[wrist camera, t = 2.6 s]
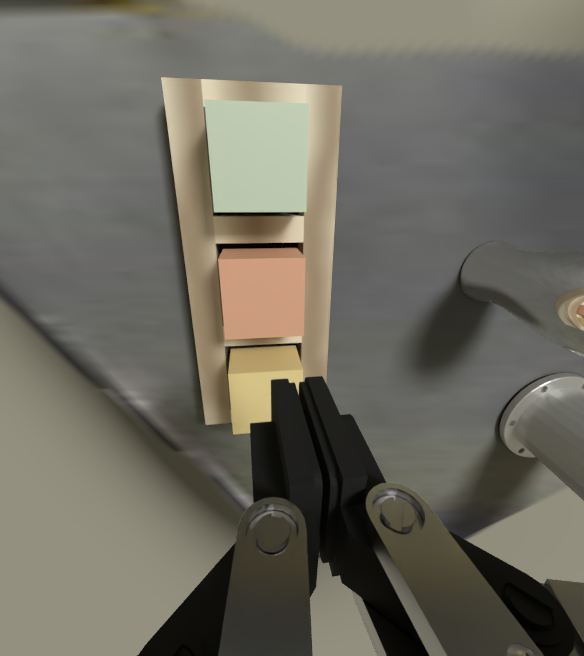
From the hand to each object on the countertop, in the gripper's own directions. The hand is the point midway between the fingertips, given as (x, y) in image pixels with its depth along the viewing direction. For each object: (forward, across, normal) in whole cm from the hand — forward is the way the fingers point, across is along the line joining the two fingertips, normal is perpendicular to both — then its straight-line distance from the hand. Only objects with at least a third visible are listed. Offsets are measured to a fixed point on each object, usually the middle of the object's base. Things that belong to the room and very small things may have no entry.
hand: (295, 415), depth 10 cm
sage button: (+18, 0, -8) cm, 20 cm away
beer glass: (+20, -23, 0) cm, 31 cm away
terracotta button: (+18, 0, +1) cm, 18 cm away
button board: (+21, 0, +1) cm, 21 cm away
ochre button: (+18, 0, +10) cm, 20 cm away
